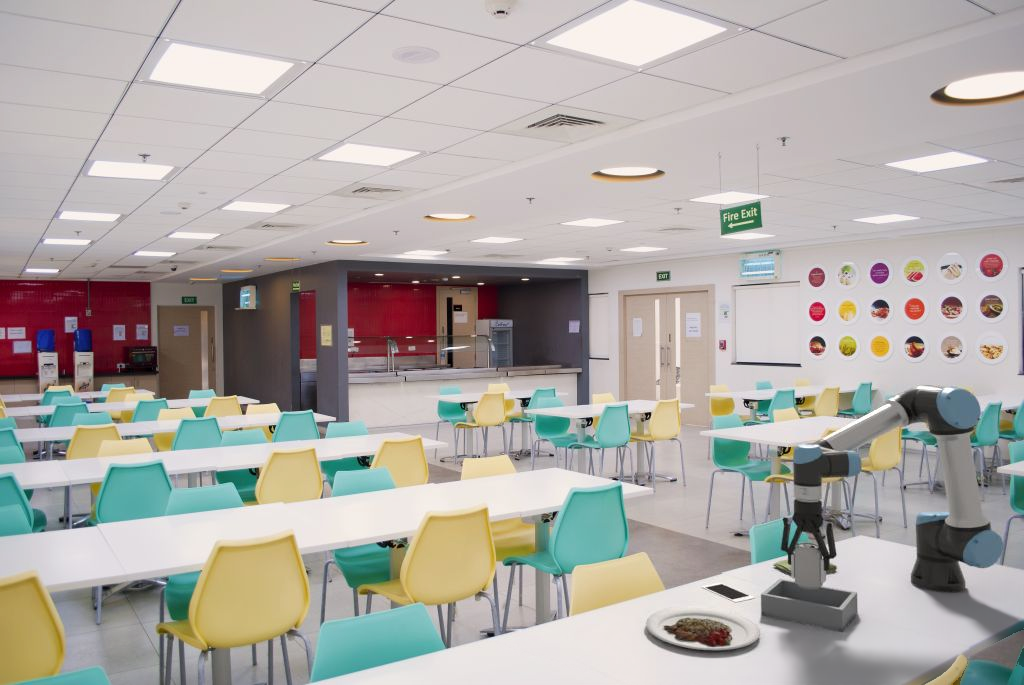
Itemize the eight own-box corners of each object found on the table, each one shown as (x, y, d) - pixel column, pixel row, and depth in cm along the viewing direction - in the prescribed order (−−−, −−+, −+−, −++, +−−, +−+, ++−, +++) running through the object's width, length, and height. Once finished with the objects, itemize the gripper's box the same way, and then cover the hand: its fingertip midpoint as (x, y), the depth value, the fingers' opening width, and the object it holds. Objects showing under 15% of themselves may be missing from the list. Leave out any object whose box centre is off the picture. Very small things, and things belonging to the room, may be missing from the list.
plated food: (684, 605, 224) (684, 593, 224) (780, 631, 203) (780, 619, 203) (624, 633, 203) (623, 621, 203) (723, 667, 182) (723, 653, 182)
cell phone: (735, 604, 225) (735, 602, 225) (700, 588, 240) (700, 586, 240) (755, 599, 228) (755, 597, 228) (719, 584, 243) (719, 582, 243)
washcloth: (771, 568, 259) (771, 558, 259) (813, 562, 265) (813, 553, 265) (796, 579, 247) (796, 569, 247) (840, 573, 252) (840, 563, 252)
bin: (857, 613, 215) (857, 592, 215) (842, 632, 201) (842, 610, 201) (780, 598, 228) (779, 578, 228) (761, 615, 215) (760, 594, 215)
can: (825, 591, 210) (824, 548, 210) (797, 589, 212) (796, 547, 212) (819, 582, 218) (819, 541, 218) (792, 581, 219) (792, 540, 219)
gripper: (767, 497, 218) (768, 575, 218) (842, 506, 205) (842, 589, 206) (776, 493, 224) (777, 569, 224) (848, 501, 211) (849, 581, 212)
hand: (808, 578), depth 215 cm, fingers closed on can, 7 cm apart
